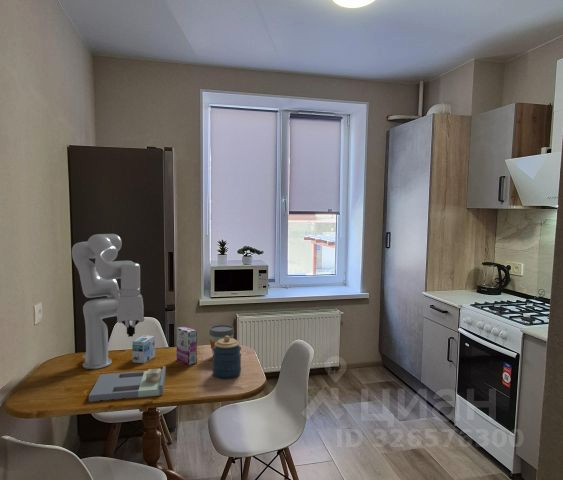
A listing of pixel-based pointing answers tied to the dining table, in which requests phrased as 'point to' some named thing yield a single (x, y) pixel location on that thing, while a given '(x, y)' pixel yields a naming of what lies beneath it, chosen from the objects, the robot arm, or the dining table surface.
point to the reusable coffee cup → (220, 333)
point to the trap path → (126, 386)
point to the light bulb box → (143, 349)
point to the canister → (226, 358)
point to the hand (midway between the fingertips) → (130, 335)
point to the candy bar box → (187, 345)
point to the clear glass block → (153, 375)
